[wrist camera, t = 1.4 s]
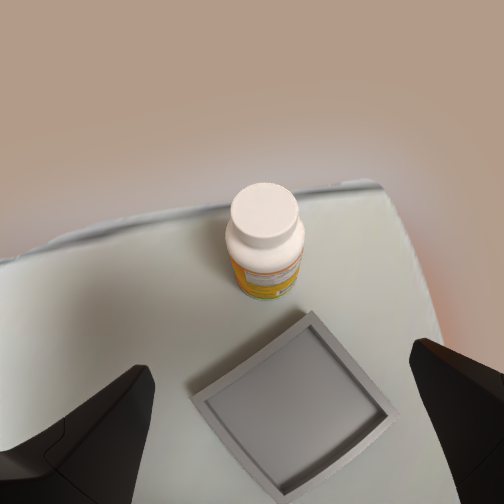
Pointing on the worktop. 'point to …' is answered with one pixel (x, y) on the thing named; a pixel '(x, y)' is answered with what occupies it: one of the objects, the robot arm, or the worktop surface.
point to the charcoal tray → (296, 410)
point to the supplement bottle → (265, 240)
